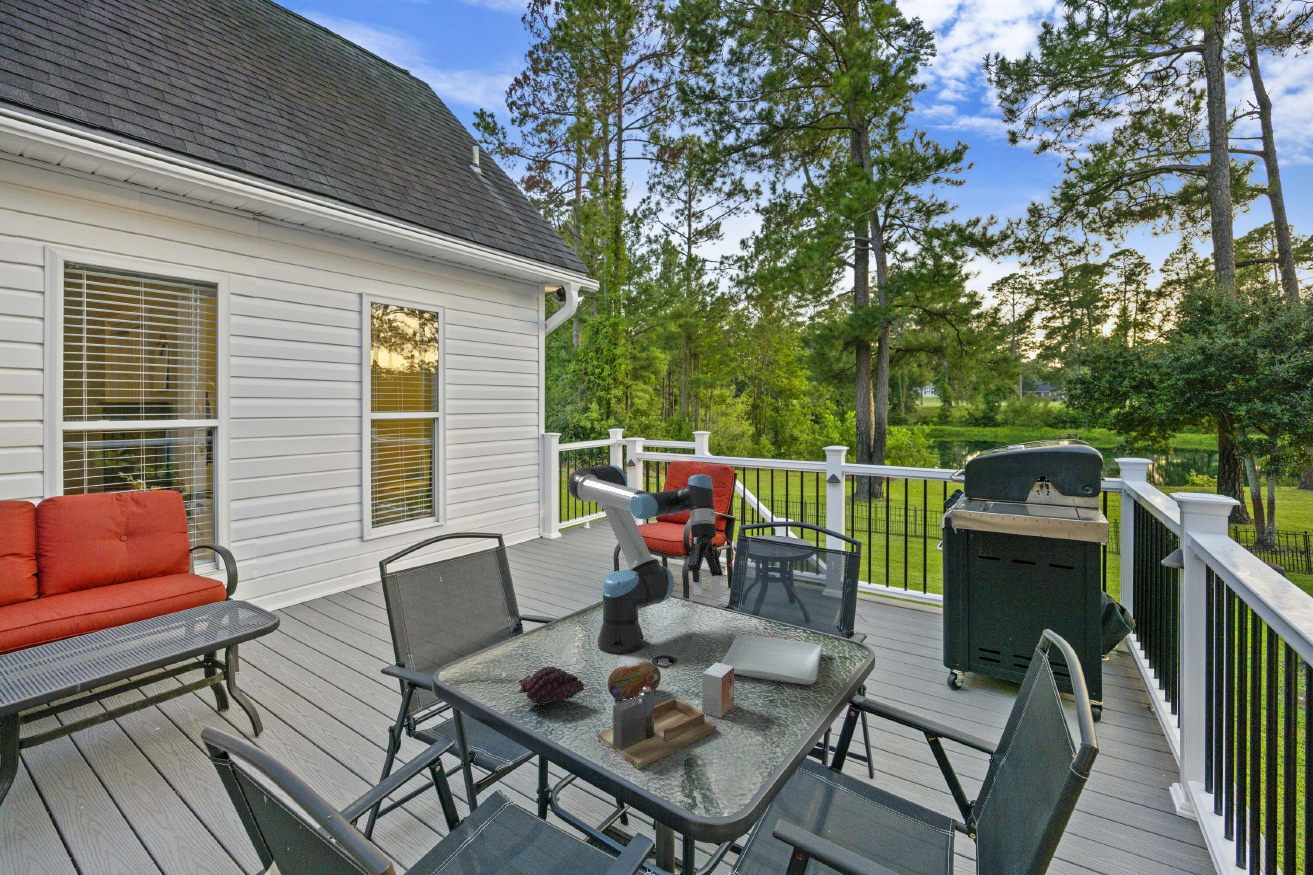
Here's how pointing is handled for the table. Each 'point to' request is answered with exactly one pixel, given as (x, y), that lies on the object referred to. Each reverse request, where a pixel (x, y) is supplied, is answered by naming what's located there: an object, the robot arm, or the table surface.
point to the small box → (718, 689)
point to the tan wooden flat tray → (665, 733)
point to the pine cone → (550, 685)
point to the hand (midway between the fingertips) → (707, 596)
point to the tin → (633, 680)
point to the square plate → (774, 659)
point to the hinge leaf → (634, 720)
